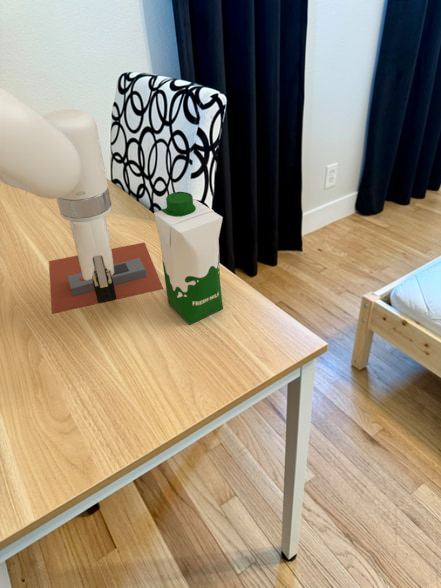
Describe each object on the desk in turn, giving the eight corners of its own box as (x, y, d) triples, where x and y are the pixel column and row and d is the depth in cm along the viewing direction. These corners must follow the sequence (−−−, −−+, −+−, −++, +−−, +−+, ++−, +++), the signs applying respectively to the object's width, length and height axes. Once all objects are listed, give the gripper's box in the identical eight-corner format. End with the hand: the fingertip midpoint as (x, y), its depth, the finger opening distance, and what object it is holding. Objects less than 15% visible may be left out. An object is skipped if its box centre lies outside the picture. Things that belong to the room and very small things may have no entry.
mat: (52, 314, 75) (51, 313, 75) (49, 261, 89) (49, 261, 89) (163, 289, 80) (163, 288, 80) (144, 242, 94) (144, 242, 93)
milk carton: (202, 285, 80) (195, 184, 68) (230, 310, 74) (229, 204, 62) (161, 303, 76) (146, 199, 64) (188, 331, 70) (177, 222, 58)
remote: (73, 296, 79) (70, 287, 78) (69, 283, 82) (67, 275, 81) (146, 276, 83) (145, 268, 82) (140, 265, 86) (139, 257, 85)
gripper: (56, 186, 68) (81, 280, 79) (60, 228, 57) (89, 331, 68) (103, 179, 70) (121, 272, 81) (117, 218, 59) (136, 320, 70)
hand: (106, 299), depth 74 cm, fingers closed
